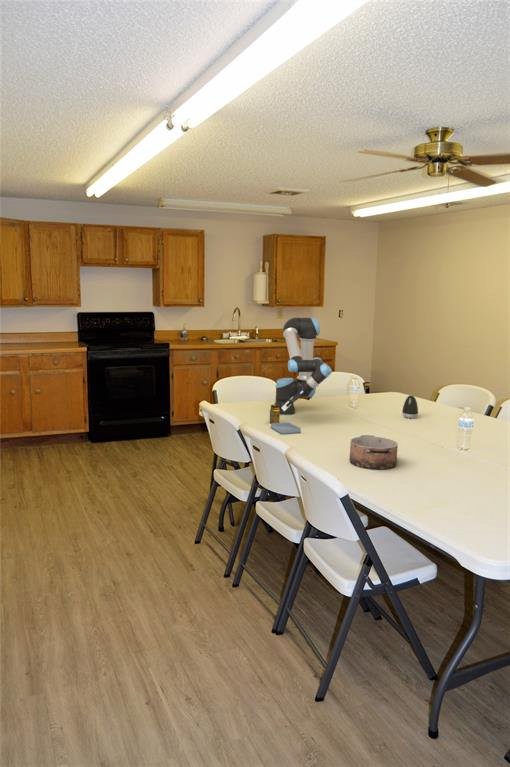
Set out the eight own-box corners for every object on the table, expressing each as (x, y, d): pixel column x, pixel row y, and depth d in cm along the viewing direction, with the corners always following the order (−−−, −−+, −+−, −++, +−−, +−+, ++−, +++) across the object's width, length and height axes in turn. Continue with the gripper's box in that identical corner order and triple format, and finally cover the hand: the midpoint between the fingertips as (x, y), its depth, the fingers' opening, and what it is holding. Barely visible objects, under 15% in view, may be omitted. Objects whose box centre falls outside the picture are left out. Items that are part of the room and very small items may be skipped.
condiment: (282, 424, 358) (282, 405, 356) (270, 426, 353) (271, 406, 351) (275, 422, 364) (275, 403, 362) (264, 423, 359) (264, 404, 357)
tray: (288, 427, 352) (288, 422, 351) (300, 433, 337) (300, 428, 336) (270, 428, 347) (270, 423, 347) (281, 434, 332) (281, 429, 332)
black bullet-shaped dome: (416, 416, 391) (417, 394, 389) (418, 419, 381) (420, 397, 379) (400, 415, 392) (402, 393, 390) (403, 419, 382) (404, 396, 380)
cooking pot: (344, 454, 296) (345, 434, 294) (387, 455, 296) (388, 434, 295) (356, 472, 266) (357, 450, 264) (404, 473, 267) (405, 450, 265)
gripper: (311, 392, 336) (285, 415, 342) (316, 385, 360) (292, 408, 366) (302, 382, 337) (276, 406, 342) (308, 376, 361) (284, 399, 366)
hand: (284, 407), depth 354 cm, fingers open, 13 cm apart
